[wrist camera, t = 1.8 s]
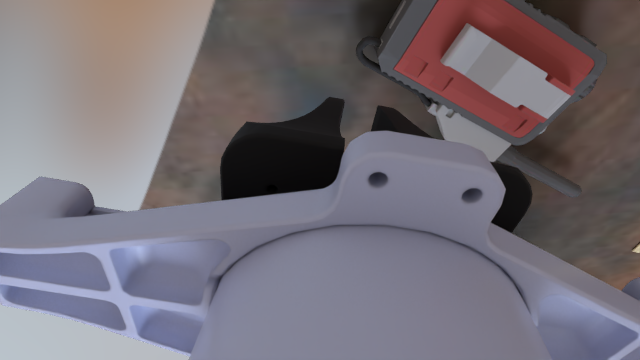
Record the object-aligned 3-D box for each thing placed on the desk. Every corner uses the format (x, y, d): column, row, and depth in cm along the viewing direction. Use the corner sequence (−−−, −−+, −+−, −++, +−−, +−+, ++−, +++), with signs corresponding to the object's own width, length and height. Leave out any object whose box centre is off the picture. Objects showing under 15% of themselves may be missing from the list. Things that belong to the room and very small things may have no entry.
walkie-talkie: (337, 76, 22) (556, 192, 26) (335, 100, 18) (589, 231, 22) (416, -71, 17) (669, 100, 21) (434, -77, 13) (735, 130, 17)
